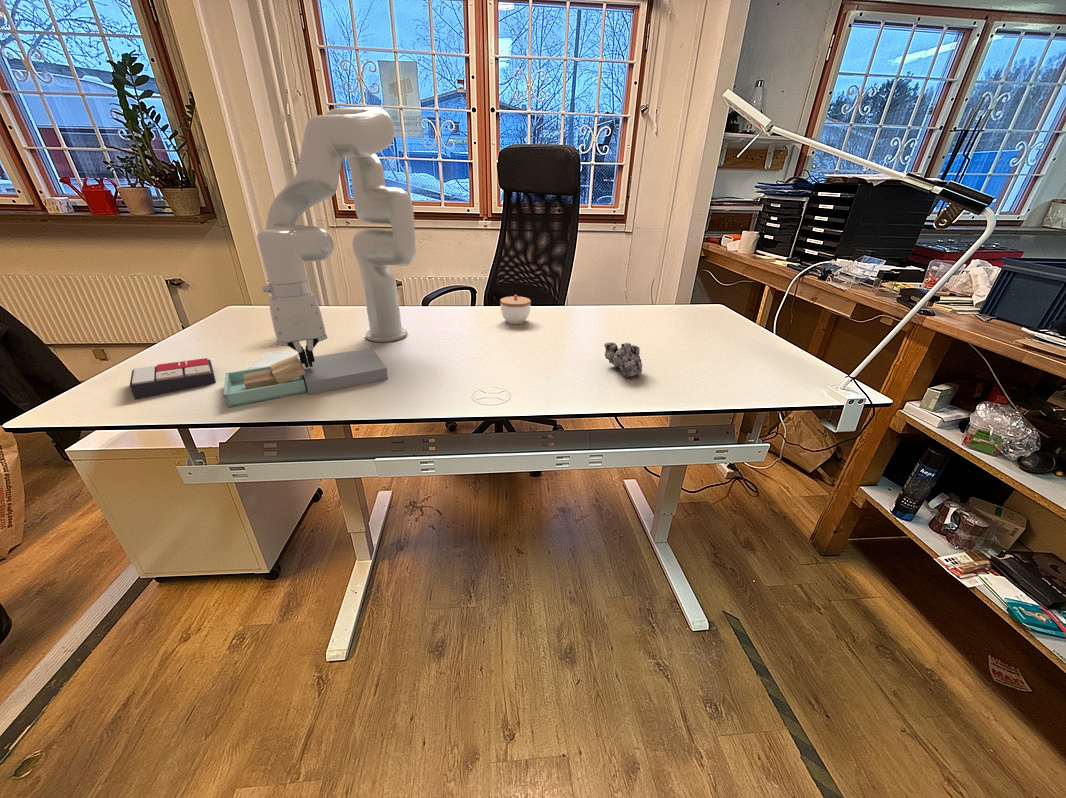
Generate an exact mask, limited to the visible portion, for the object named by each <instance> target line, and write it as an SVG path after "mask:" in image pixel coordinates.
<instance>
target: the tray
mask: <svg viewBox="0 0 1066 798" xmlns="http://www.w3.org/2000/svg"><path fill="white" fill-rule="evenodd" d="M247 369H248V368H247ZM247 369H243V370H237V371H230V372H225V374H224V375H225V377H224V386H223V394H222V395H223V398H224V401H225V404H226V407H227V408H232V407H239V406H244V405H250V404H254V403H259V402H264V401H270V400H274V399H279V398H285V397H289V396H294V395H295V396H296V395H300V394H306V393H308V390H307V387H306V383H305V379H304V376H303V375H301V376H299V377H297V378H294V379H292V380H289V381H287V382H285V383H282V384H279V383H278V381H277V380H276V381H277V385H272V386H266V387H260V388H255V389H249V390H246V387H245V384H244V374H248V373H253V372H259V371H265V370H270V369H271V366H266V367H260V368H254V369H248V370H247Z"/></svg>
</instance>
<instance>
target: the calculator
mask: <svg viewBox="0 0 1066 798" xmlns="http://www.w3.org/2000/svg"><path fill="white" fill-rule="evenodd" d="M213 367H214V366H213V365H212V360H211V359H208V358H207V357H206V358H205V357H204V358H203V357H202V358H199V359H198V358H197V359H190V360H182V361H176V362H175V361H173V362H168V363H159V364H156V365H151V366H144V367H136V368H135V367H134V369H132V371H131V374H130V381H129V387H130V390H131V394H132V395H133V399H134V400H140V399H145V398H150V397H155V396H160V395H161V394H165V393H170V392H172V393H173V392H178V391H183V390H189V389H194V388H199V387H205V386H209V385H215V384H216V383H217V381H216V376H215V371H214V368H213Z"/></svg>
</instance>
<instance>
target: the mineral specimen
mask: <svg viewBox="0 0 1066 798" xmlns="http://www.w3.org/2000/svg"><path fill="white" fill-rule="evenodd" d="M603 346H604V347H605V352H604V356H605V357H604V358H605V359H607V360H608V363H610V364H611V365H613V366H614V369H616V370H619V371H620V373H621V374H622V377H623V379H625V380H626V379H628V378H629V377H635V376H641V374H642V372H643V362H642V359H641V356H640V352H641V348H640V347H639V346H638V345H633V344H631V343H630V342H628V341H627V342H623V343H621V347H618V344H616V342H606V343H604V344H603Z"/></svg>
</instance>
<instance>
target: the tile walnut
mask: <svg viewBox="0 0 1066 798" xmlns="http://www.w3.org/2000/svg"><path fill="white" fill-rule="evenodd" d="M244 384H245V387H246V390H249V389H255V388H260V387H266V386H272V385H277V381H276V378H275V377H274V375H273V373H272V369H270V370H265V371H259V372H253V373H248V374H244Z"/></svg>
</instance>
